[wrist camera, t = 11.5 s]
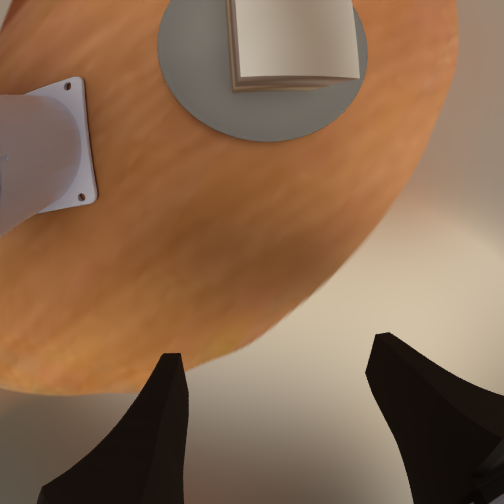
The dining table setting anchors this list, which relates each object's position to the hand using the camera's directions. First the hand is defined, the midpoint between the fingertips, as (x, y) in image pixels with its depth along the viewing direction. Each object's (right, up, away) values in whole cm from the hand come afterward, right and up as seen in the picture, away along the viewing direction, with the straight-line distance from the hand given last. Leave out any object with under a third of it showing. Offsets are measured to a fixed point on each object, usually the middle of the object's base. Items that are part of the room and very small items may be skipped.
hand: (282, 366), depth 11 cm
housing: (0, +15, +2) cm, 15 cm away
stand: (-1, +16, +5) cm, 16 cm away
